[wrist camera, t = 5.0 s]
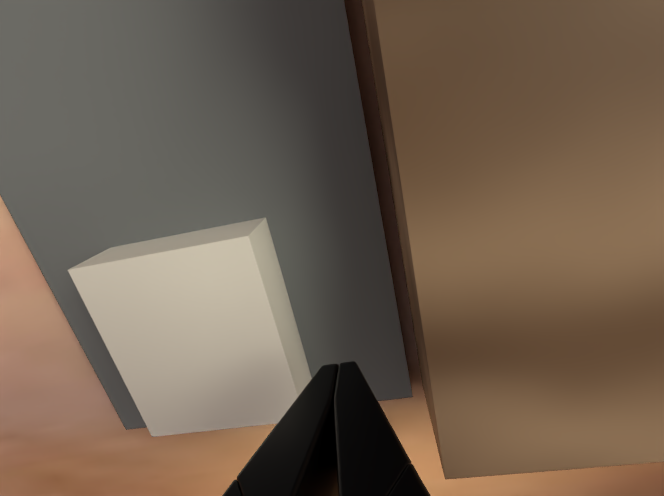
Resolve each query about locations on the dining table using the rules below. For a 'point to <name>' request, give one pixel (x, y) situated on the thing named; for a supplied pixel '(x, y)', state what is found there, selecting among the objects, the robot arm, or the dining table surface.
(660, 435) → the deck
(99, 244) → the mat
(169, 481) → the dining table surface
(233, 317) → the tile cream
